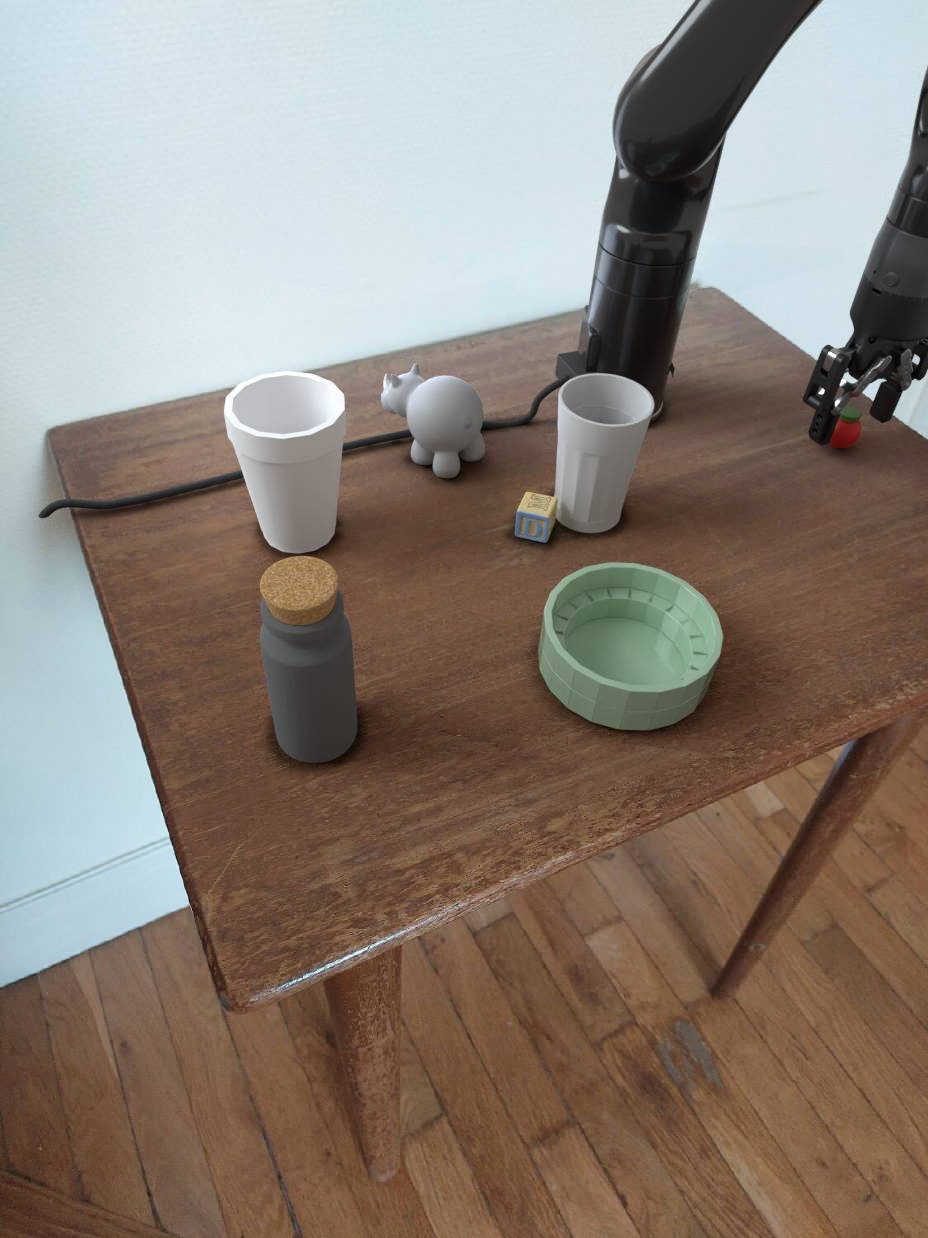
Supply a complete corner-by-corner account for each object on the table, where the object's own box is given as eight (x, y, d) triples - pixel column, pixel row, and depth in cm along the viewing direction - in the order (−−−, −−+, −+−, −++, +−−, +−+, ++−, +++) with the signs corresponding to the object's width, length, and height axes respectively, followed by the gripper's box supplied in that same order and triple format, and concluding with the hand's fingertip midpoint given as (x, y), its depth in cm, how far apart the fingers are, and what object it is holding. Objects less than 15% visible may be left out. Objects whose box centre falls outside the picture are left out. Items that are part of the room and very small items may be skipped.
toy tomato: (823, 454, 92) (837, 421, 89) (814, 434, 95) (827, 400, 92) (858, 456, 92) (873, 422, 89) (848, 435, 95) (862, 401, 92)
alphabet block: (513, 536, 81) (516, 510, 79) (522, 515, 83) (525, 489, 81) (546, 544, 81) (550, 518, 78) (554, 523, 83) (558, 497, 81)
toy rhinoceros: (413, 408, 95) (413, 333, 88) (496, 460, 89) (502, 383, 83) (360, 434, 91) (356, 358, 85) (443, 490, 85) (445, 413, 79)
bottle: (278, 700, 67) (253, 549, 56) (357, 697, 68) (348, 547, 57) (273, 766, 63) (246, 617, 52) (358, 762, 64) (347, 615, 53)
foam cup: (277, 486, 85) (261, 361, 75) (369, 510, 83) (363, 385, 73) (226, 549, 78) (201, 421, 69) (323, 577, 76) (311, 450, 67)
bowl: (543, 732, 66) (550, 689, 63) (533, 603, 75) (539, 559, 72) (721, 737, 67) (739, 694, 63) (690, 608, 76) (704, 564, 72)
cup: (640, 499, 86) (666, 388, 77) (613, 549, 81) (638, 436, 72) (561, 474, 88) (577, 364, 79) (530, 522, 83) (544, 409, 74)
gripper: (930, 242, 85) (870, 394, 96) (819, 273, 80) (769, 429, 91) (998, 275, 80) (926, 430, 92) (885, 310, 75) (824, 469, 87)
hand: (848, 429), depth 92 cm, fingers open, 8 cm apart
